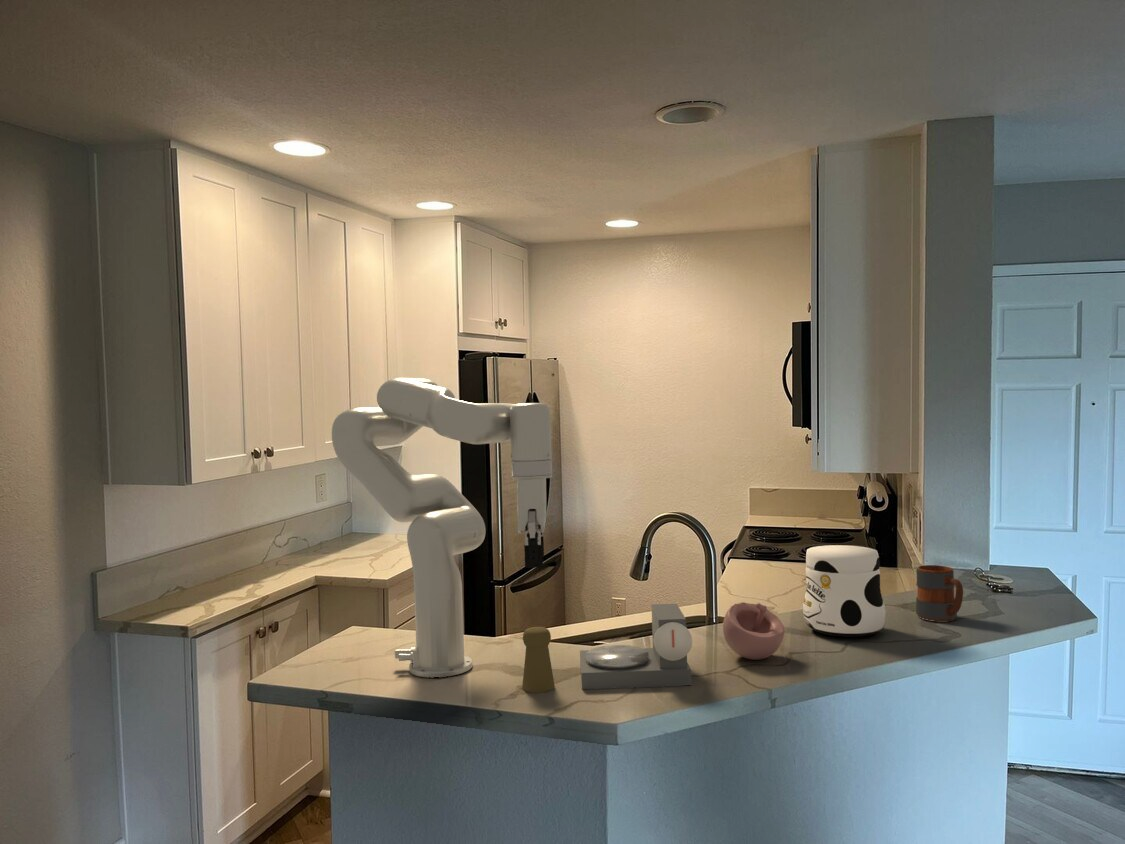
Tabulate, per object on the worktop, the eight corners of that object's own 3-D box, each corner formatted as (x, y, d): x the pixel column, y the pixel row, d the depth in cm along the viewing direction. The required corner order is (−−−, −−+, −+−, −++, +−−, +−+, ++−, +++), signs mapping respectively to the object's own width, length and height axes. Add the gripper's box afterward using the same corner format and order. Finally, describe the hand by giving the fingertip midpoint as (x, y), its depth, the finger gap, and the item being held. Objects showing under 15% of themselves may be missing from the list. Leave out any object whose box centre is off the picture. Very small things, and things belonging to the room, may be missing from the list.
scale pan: (586, 670, 149) (586, 664, 149) (584, 651, 161) (584, 646, 161) (651, 667, 149) (651, 662, 149) (645, 649, 161) (645, 644, 161)
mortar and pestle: (755, 671, 155) (753, 611, 155) (711, 657, 165) (709, 601, 165) (797, 659, 162) (796, 602, 162) (753, 646, 172) (751, 592, 172)
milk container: (787, 631, 182) (785, 551, 182) (833, 617, 193) (831, 541, 192) (856, 647, 168) (854, 561, 168) (901, 631, 179) (899, 550, 179)
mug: (948, 628, 180) (946, 575, 180) (907, 616, 192) (906, 566, 191) (977, 623, 183) (976, 571, 183) (936, 612, 194) (935, 563, 194)
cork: (526, 694, 147) (524, 633, 147) (519, 684, 153) (517, 625, 152) (558, 690, 148) (556, 630, 148) (550, 680, 154) (548, 622, 154)
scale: (581, 689, 148) (579, 623, 148) (580, 665, 162) (578, 605, 162) (694, 685, 148) (692, 620, 148) (682, 662, 162) (680, 602, 162)
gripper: (514, 467, 159) (517, 554, 159) (508, 474, 141) (511, 572, 142) (552, 466, 159) (555, 553, 159) (551, 472, 141) (554, 570, 142)
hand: (534, 562), depth 150 cm, fingers open, 9 cm apart
